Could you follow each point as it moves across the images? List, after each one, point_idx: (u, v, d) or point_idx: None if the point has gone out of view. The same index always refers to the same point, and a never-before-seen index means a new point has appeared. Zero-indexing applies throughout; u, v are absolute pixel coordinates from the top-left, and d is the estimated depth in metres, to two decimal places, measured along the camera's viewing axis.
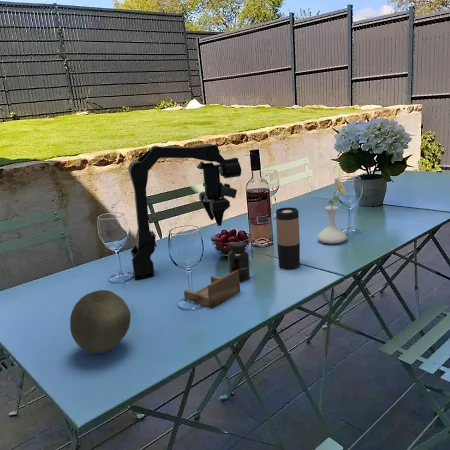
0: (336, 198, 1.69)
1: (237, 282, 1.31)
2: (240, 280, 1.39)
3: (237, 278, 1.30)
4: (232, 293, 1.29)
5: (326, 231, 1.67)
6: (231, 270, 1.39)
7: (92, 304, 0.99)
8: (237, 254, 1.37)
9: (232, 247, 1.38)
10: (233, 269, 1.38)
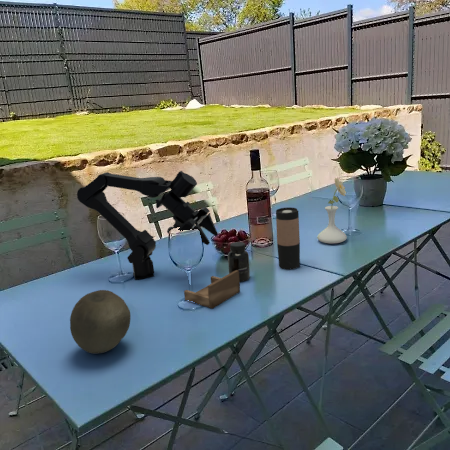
0: (336, 198, 1.69)
1: (237, 282, 1.31)
2: (240, 280, 1.39)
3: (237, 278, 1.30)
4: (232, 293, 1.29)
5: (326, 231, 1.67)
6: (231, 270, 1.39)
7: (92, 304, 0.99)
8: (237, 254, 1.37)
9: (232, 247, 1.38)
10: (233, 269, 1.38)
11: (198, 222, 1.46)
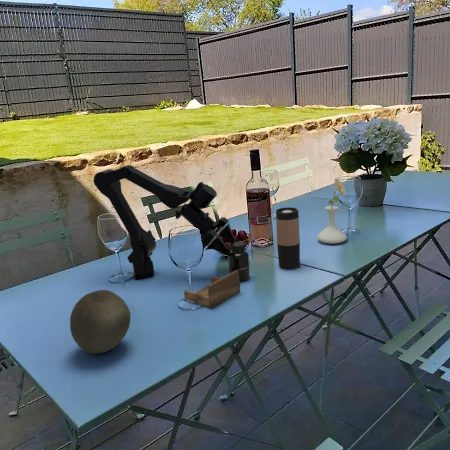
0: (336, 198, 1.69)
1: (237, 282, 1.31)
2: (240, 280, 1.39)
3: (237, 278, 1.30)
4: (232, 293, 1.29)
5: (326, 231, 1.67)
6: (231, 270, 1.39)
7: (92, 304, 0.99)
8: (237, 254, 1.37)
9: (232, 247, 1.38)
10: (233, 269, 1.38)
11: (217, 232, 1.46)
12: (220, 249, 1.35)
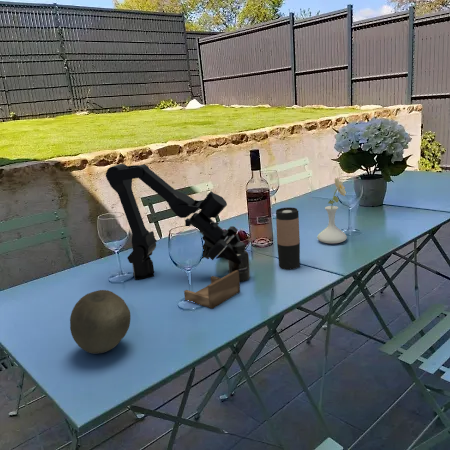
0: (336, 198, 1.69)
1: (237, 282, 1.31)
2: (240, 280, 1.39)
3: (237, 278, 1.30)
4: (232, 293, 1.29)
5: (326, 231, 1.67)
6: (231, 270, 1.39)
7: (92, 304, 0.99)
8: (237, 254, 1.37)
9: (232, 247, 1.38)
10: (233, 269, 1.38)
11: (225, 242, 1.45)
12: (231, 258, 1.36)
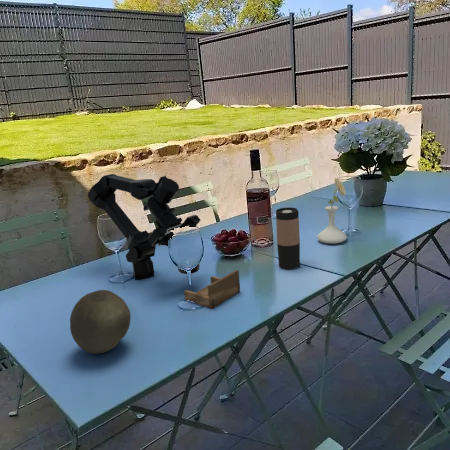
0: (336, 198, 1.69)
1: (237, 282, 1.31)
2: (184, 272, 1.32)
3: (237, 278, 1.30)
4: (232, 293, 1.29)
5: (326, 231, 1.67)
6: None
7: (92, 304, 0.99)
8: None
9: None
10: None
11: None
12: None
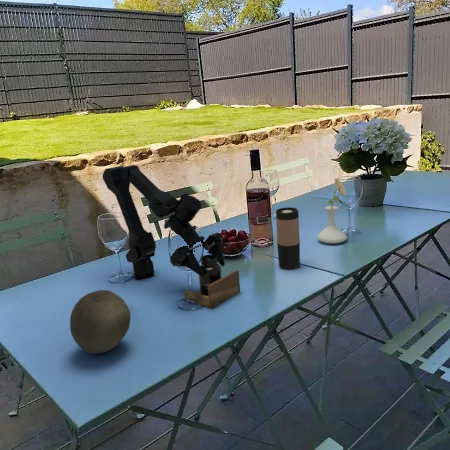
0: (336, 198, 1.69)
1: (237, 282, 1.31)
2: None
3: (237, 278, 1.30)
4: (232, 293, 1.29)
5: (326, 231, 1.67)
6: None
7: (92, 304, 0.99)
8: (204, 267, 1.26)
9: (201, 260, 1.27)
10: (200, 283, 1.28)
11: (208, 248, 1.35)
12: (193, 268, 1.24)
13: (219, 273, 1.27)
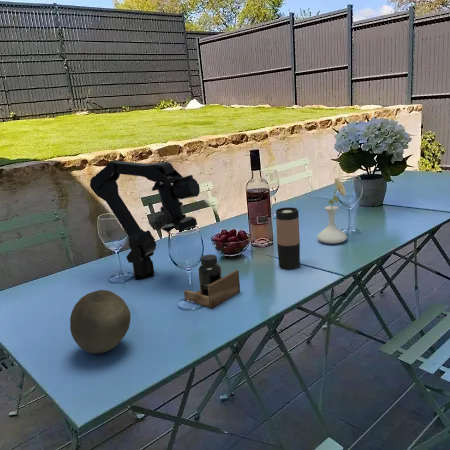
0: (336, 198, 1.69)
1: (237, 282, 1.31)
2: None
3: (237, 278, 1.30)
4: (232, 293, 1.29)
5: (326, 231, 1.67)
6: None
7: (92, 304, 0.99)
8: (204, 268, 1.26)
9: (201, 260, 1.27)
10: (200, 283, 1.28)
11: (166, 226, 1.43)
12: None
13: (219, 273, 1.27)
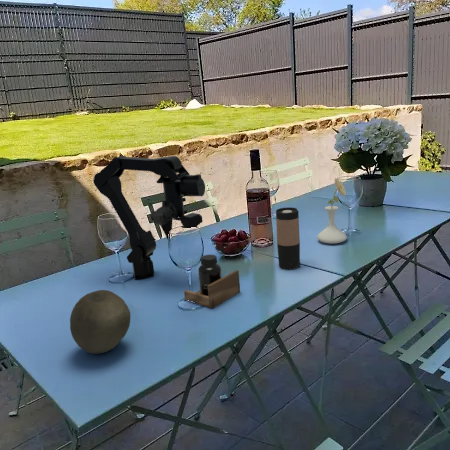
0: (336, 198, 1.69)
1: (237, 282, 1.31)
2: None
3: (237, 278, 1.30)
4: (232, 293, 1.29)
5: (326, 231, 1.67)
6: None
7: (92, 304, 0.99)
8: (204, 268, 1.26)
9: (201, 260, 1.27)
10: (200, 283, 1.28)
11: None
12: None
13: (219, 273, 1.27)
